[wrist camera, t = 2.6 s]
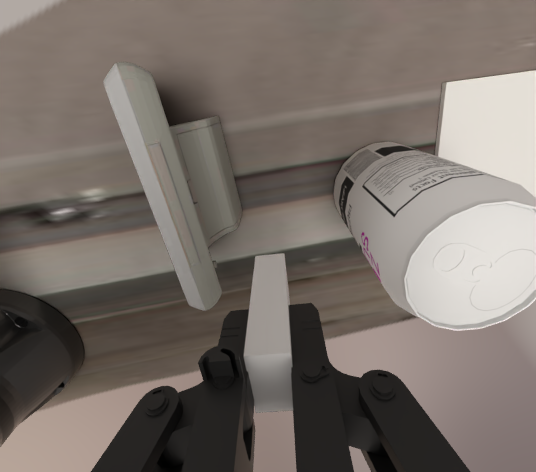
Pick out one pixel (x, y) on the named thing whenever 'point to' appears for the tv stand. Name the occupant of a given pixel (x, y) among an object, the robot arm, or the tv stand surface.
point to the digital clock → (178, 178)
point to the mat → (491, 126)
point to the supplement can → (441, 234)
